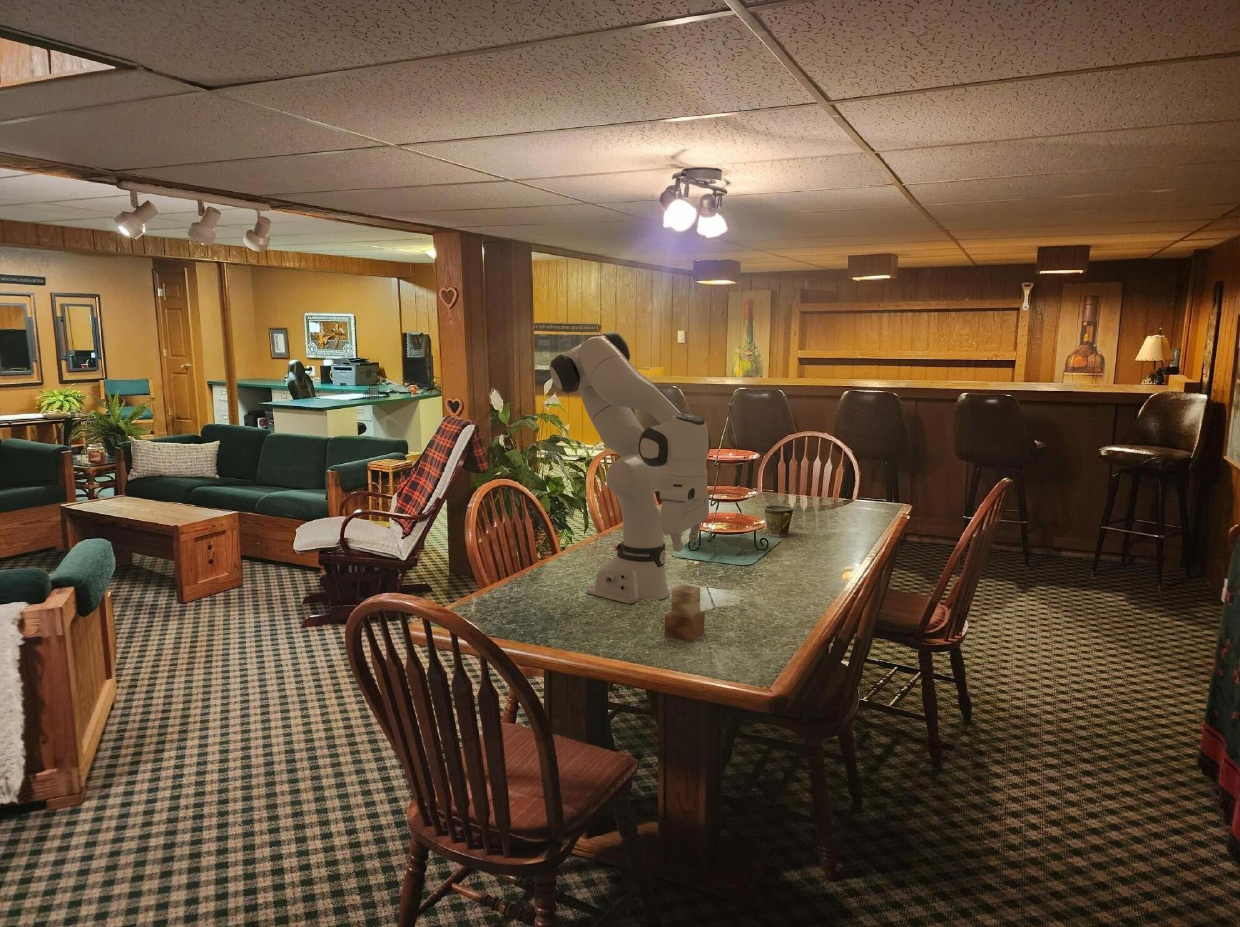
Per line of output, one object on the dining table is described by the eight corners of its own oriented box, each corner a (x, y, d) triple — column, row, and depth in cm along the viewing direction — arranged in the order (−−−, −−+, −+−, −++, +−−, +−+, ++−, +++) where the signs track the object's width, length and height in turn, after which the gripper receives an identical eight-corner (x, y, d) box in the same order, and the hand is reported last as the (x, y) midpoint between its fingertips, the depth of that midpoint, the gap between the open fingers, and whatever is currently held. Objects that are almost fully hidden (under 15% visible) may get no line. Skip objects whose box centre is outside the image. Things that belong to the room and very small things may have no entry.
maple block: (671, 615, 184) (671, 590, 183) (679, 608, 188) (680, 584, 187) (691, 618, 182) (692, 593, 181) (699, 612, 186) (700, 587, 185)
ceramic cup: (758, 532, 289) (759, 505, 288) (783, 531, 292) (784, 504, 291) (776, 541, 277) (777, 513, 276) (801, 539, 280) (802, 511, 279)
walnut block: (664, 636, 184) (665, 615, 184) (676, 627, 190) (676, 606, 190) (693, 641, 181) (693, 620, 180) (704, 632, 187) (704, 611, 187)
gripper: (691, 478, 191) (689, 534, 193) (656, 492, 173) (654, 554, 175) (716, 480, 188) (714, 537, 191) (683, 495, 170) (681, 558, 172)
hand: (685, 546), depth 183 cm, fingers open, 8 cm apart
